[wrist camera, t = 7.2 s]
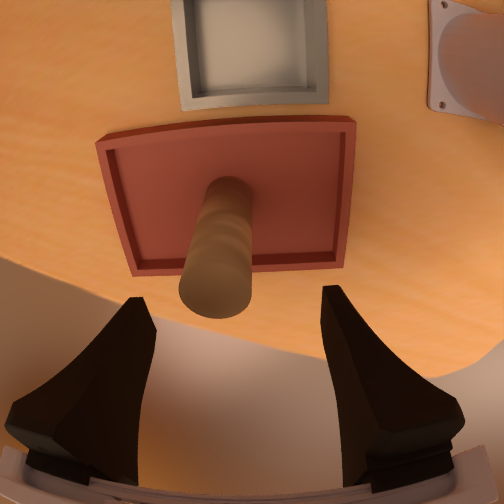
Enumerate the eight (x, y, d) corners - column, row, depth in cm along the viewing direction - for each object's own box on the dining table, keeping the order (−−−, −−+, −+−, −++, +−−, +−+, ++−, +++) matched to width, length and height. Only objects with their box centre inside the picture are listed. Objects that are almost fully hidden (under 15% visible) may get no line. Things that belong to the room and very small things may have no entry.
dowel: (251, 174, 20) (249, 263, 12) (253, 217, 21) (253, 318, 14) (202, 177, 20) (172, 265, 12) (208, 219, 22) (185, 318, 14)
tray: (347, 115, 18) (356, 122, 17) (337, 253, 24) (343, 267, 22) (106, 134, 19) (94, 142, 17) (138, 261, 24) (132, 276, 23)
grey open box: (311, -18, 13) (323, -31, 10) (315, 94, 17) (328, 104, 14) (183, -11, 13) (169, -23, 11) (193, 100, 18) (181, 111, 15)
